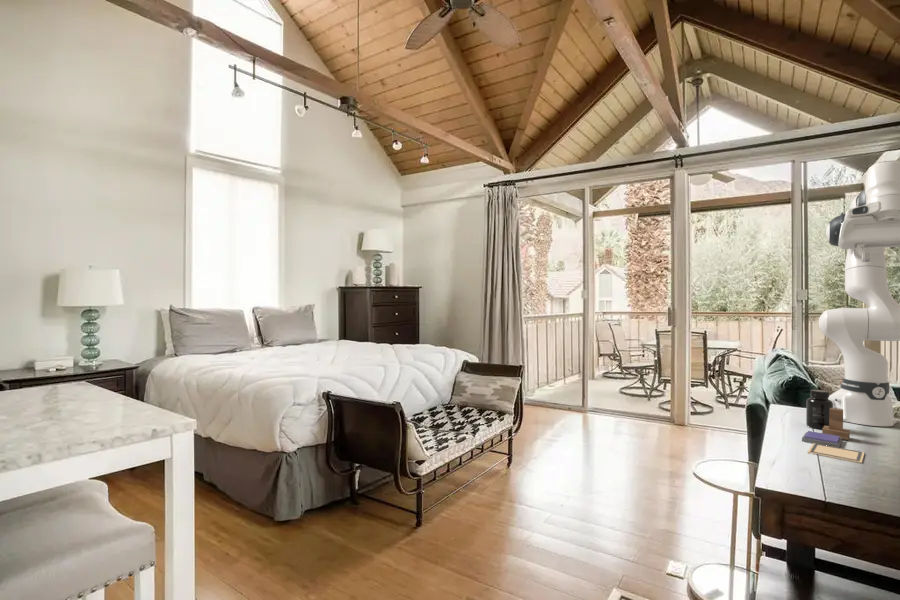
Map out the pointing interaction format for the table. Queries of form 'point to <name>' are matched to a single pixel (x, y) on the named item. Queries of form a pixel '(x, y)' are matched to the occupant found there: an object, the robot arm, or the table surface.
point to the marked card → (837, 453)
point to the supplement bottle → (818, 409)
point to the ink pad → (822, 439)
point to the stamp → (836, 425)
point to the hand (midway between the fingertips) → (891, 260)
